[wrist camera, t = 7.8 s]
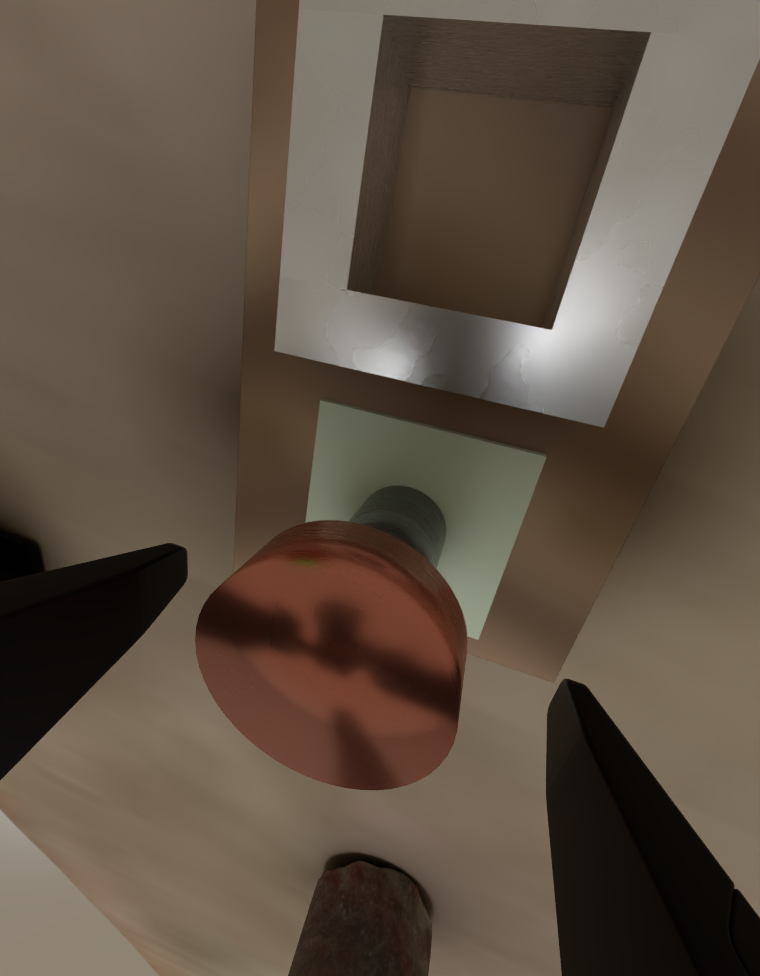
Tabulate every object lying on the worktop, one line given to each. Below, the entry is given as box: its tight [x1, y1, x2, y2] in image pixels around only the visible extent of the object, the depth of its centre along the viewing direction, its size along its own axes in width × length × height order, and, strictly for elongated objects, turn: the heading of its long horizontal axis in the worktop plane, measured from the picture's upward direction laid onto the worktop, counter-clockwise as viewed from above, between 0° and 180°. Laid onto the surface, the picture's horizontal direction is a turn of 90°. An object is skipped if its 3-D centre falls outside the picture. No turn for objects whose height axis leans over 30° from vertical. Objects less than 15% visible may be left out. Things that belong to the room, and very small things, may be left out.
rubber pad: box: [305, 399, 546, 640], centre depth 14 cm, size 7×7×1 cm
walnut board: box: [233, 0, 760, 683], centre depth 13 cm, size 18×13×2 cm
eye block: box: [274, 0, 760, 427], centre depth 9 cm, size 8×8×2 cm
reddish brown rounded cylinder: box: [195, 485, 468, 790], centre depth 11 cm, size 5×5×7 cm
